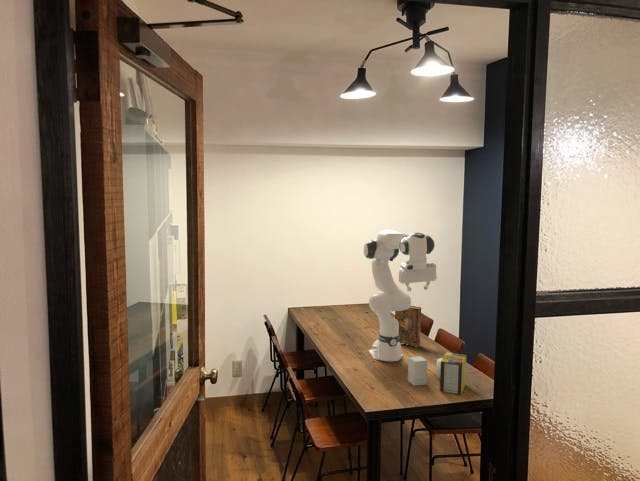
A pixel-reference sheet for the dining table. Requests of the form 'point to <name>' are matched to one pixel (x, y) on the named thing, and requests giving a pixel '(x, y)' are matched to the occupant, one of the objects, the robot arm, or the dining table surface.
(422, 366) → the supplement box
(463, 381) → the protein box
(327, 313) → the dining table surface
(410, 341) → the book
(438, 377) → the off-white mug
